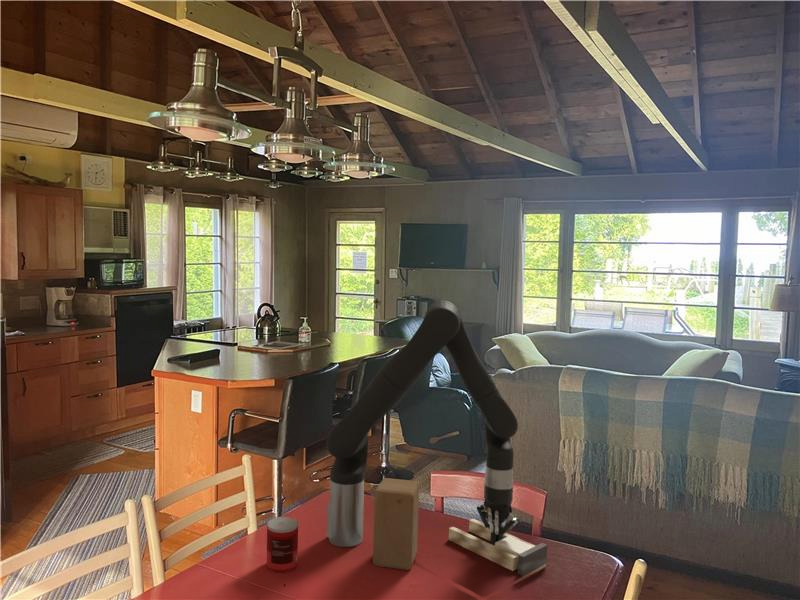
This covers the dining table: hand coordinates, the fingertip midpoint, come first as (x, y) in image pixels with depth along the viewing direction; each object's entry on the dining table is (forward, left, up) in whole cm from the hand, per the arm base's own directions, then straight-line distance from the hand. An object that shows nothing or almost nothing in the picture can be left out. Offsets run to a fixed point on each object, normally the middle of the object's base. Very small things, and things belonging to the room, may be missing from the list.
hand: (496, 545), depth 169 cm
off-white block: (+6, 0, -1) cm, 6 cm away
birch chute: (-1, 0, -2) cm, 3 cm away
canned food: (-30, -47, -2) cm, 56 cm away
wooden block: (-14, -23, -2) cm, 27 cm away
